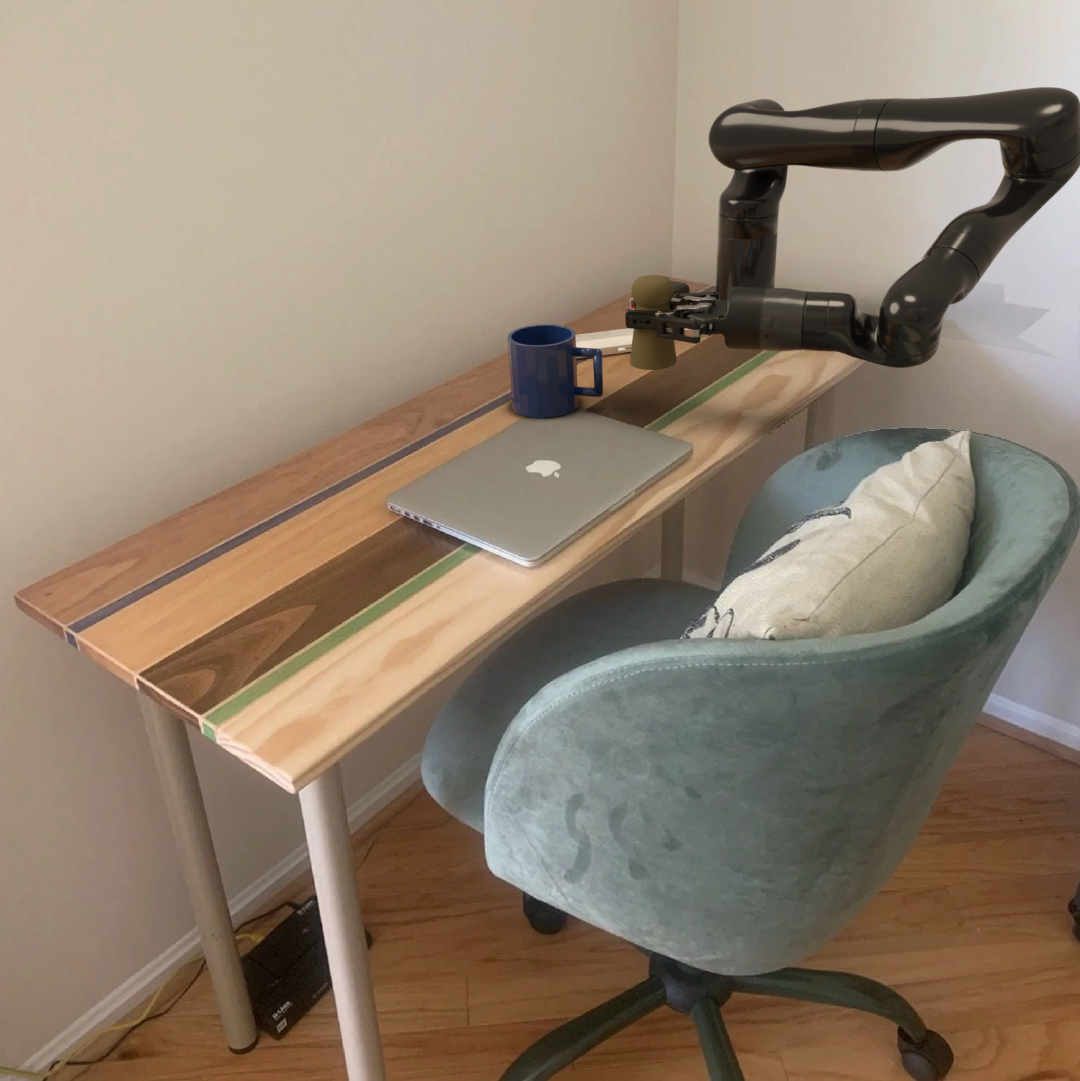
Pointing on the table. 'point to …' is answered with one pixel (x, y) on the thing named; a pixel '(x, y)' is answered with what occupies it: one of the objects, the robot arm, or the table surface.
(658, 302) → the olive pawn figure
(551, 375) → the mug
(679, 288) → the usb drive
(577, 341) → the phone case
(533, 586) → the table surface
